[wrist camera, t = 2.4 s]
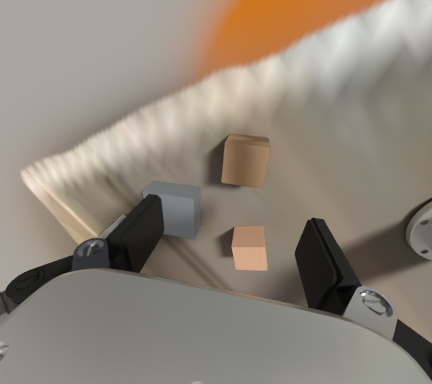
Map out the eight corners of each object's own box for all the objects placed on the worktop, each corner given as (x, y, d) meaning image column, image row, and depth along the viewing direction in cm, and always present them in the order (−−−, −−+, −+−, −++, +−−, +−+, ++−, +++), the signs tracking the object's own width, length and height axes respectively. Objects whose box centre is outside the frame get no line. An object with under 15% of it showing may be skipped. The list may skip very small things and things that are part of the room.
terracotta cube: (263, 225, 30) (265, 247, 26) (265, 247, 33) (267, 270, 28) (234, 226, 32) (231, 247, 27) (238, 247, 34) (236, 269, 30)
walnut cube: (267, 137, 23) (270, 147, 19) (260, 172, 26) (261, 188, 22) (230, 133, 24) (224, 142, 20) (226, 168, 27) (221, 182, 22)
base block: (200, 186, 29) (193, 198, 26) (200, 224, 33) (194, 239, 30) (155, 180, 30) (142, 191, 27) (160, 217, 34) (149, 231, 31)
